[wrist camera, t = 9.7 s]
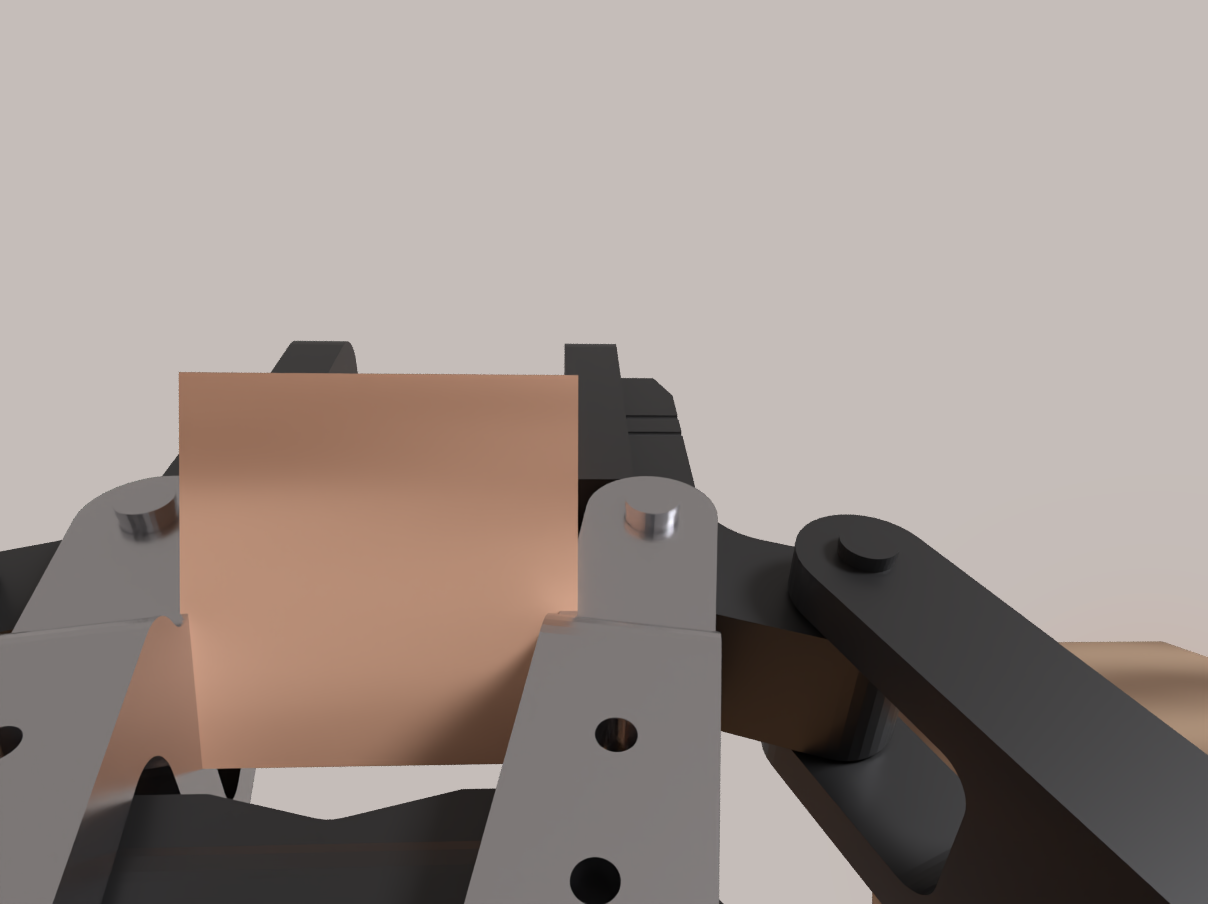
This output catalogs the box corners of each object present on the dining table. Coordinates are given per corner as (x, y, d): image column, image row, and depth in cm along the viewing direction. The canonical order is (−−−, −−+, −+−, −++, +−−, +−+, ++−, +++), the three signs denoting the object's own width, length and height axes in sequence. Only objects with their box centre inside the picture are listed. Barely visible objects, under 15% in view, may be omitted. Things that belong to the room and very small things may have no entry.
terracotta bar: (576, 762, 7) (578, 375, 6) (181, 768, 6) (178, 372, 6) (563, 512, 28) (564, 424, 28) (474, 513, 28) (474, 424, 28)
